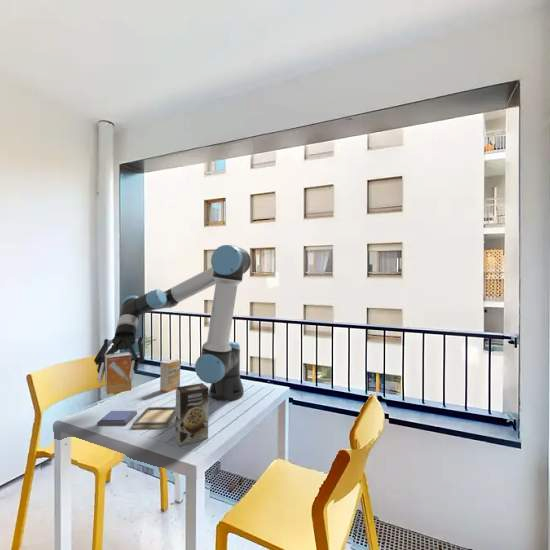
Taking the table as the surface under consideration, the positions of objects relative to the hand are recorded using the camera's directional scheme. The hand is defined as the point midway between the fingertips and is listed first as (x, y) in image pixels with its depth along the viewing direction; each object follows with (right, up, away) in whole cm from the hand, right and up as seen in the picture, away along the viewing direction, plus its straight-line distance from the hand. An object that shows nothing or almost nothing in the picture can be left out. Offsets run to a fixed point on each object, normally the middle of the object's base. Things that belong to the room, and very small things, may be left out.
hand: (115, 379), depth 111 cm
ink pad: (0, -15, +3) cm, 16 cm away
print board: (+14, -15, +3) cm, 21 cm away
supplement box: (+8, -16, +35) cm, 39 cm away
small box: (-1, -5, +3) cm, 6 cm away
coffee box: (+30, -15, -11) cm, 35 cm away
